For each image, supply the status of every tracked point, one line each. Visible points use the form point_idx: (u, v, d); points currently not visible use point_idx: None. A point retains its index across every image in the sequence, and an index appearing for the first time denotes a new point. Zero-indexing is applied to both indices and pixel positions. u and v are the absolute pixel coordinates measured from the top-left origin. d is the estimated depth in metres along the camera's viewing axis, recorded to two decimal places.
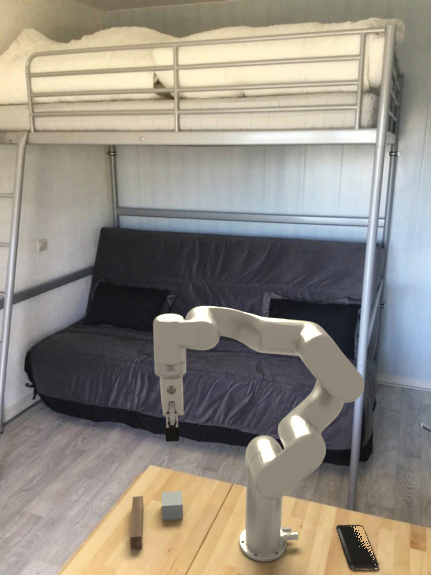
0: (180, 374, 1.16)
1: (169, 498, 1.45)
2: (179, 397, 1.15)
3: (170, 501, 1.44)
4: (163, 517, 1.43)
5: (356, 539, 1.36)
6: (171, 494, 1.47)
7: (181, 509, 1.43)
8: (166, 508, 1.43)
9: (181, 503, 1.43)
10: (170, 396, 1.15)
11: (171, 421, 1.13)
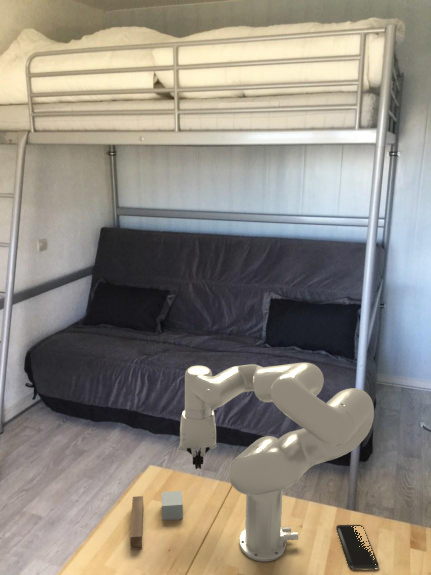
0: None
1: (169, 498, 1.45)
2: None
3: (170, 501, 1.44)
4: (163, 517, 1.43)
5: (356, 539, 1.36)
6: (171, 494, 1.47)
7: (181, 509, 1.43)
8: (166, 508, 1.43)
9: (181, 503, 1.43)
10: (215, 426, 1.41)
11: None
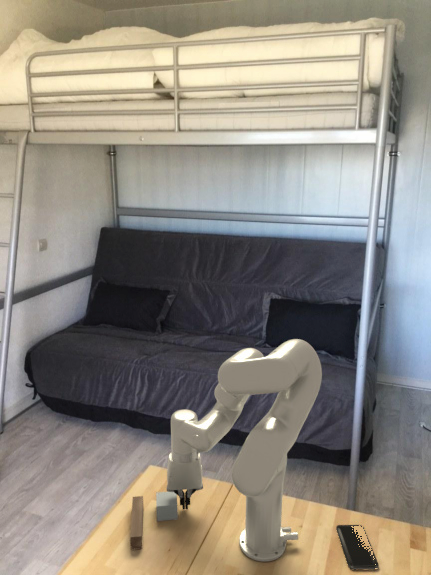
0: None
1: (164, 499, 1.45)
2: None
3: (165, 501, 1.44)
4: (158, 517, 1.43)
5: (356, 539, 1.36)
6: (166, 494, 1.47)
7: (176, 509, 1.43)
8: (161, 508, 1.42)
9: (176, 503, 1.43)
10: (201, 468, 1.44)
11: None
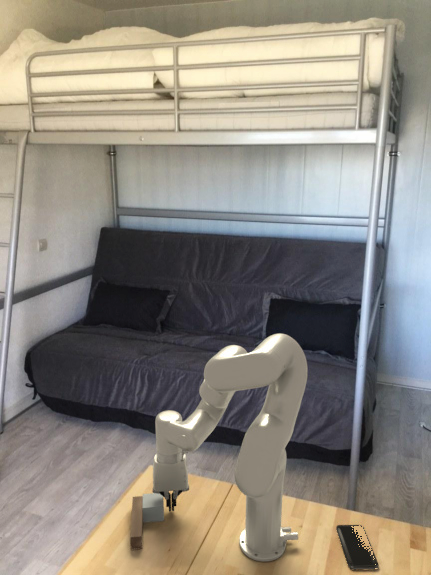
0: None
1: (150, 500, 1.44)
2: None
3: (151, 503, 1.43)
4: (144, 519, 1.42)
5: (356, 539, 1.36)
6: (153, 496, 1.46)
7: (162, 511, 1.42)
8: (147, 510, 1.42)
9: (162, 505, 1.42)
10: (187, 469, 1.43)
11: None
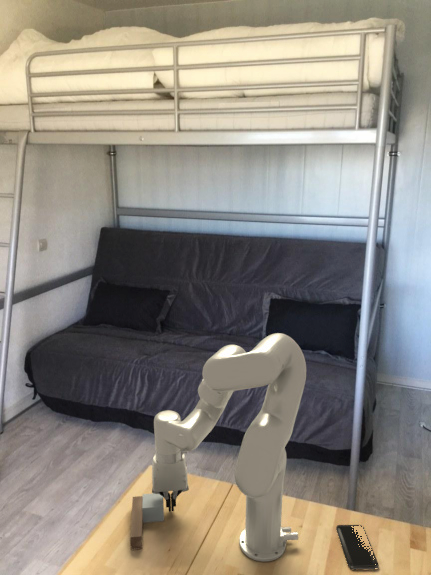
0: None
1: (150, 500, 1.44)
2: None
3: (151, 503, 1.43)
4: (144, 519, 1.42)
5: (356, 539, 1.36)
6: (152, 496, 1.46)
7: (162, 511, 1.42)
8: (147, 510, 1.42)
9: (162, 505, 1.42)
10: (186, 469, 1.43)
11: None
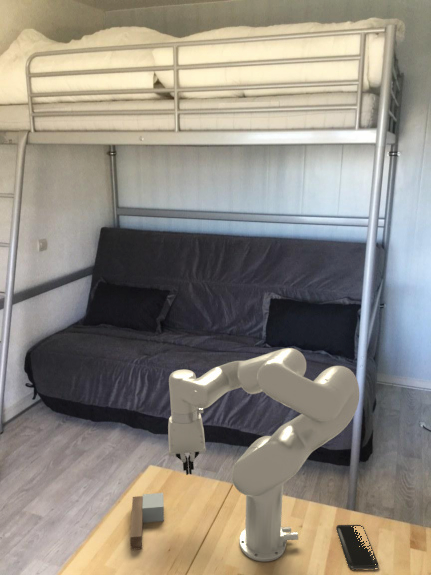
0: None
1: (150, 500, 1.44)
2: None
3: (151, 503, 1.43)
4: (144, 519, 1.42)
5: (356, 539, 1.36)
6: (153, 496, 1.46)
7: (162, 511, 1.42)
8: (147, 510, 1.42)
9: (162, 505, 1.42)
10: (203, 430, 1.40)
11: None
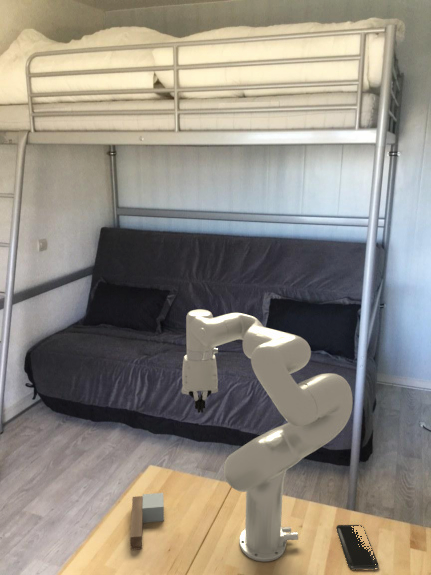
0: None
1: (150, 500, 1.44)
2: None
3: (151, 503, 1.43)
4: (144, 519, 1.42)
5: (356, 539, 1.36)
6: (153, 496, 1.46)
7: (162, 511, 1.42)
8: (147, 510, 1.42)
9: (162, 505, 1.42)
10: None
11: None
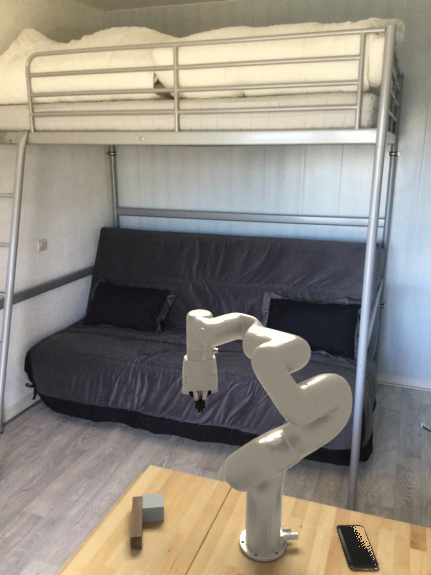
0: None
1: (150, 500, 1.44)
2: None
3: (151, 503, 1.43)
4: (144, 519, 1.42)
5: (356, 539, 1.36)
6: (153, 496, 1.46)
7: (162, 511, 1.42)
8: (147, 510, 1.42)
9: (162, 505, 1.42)
10: None
11: None
